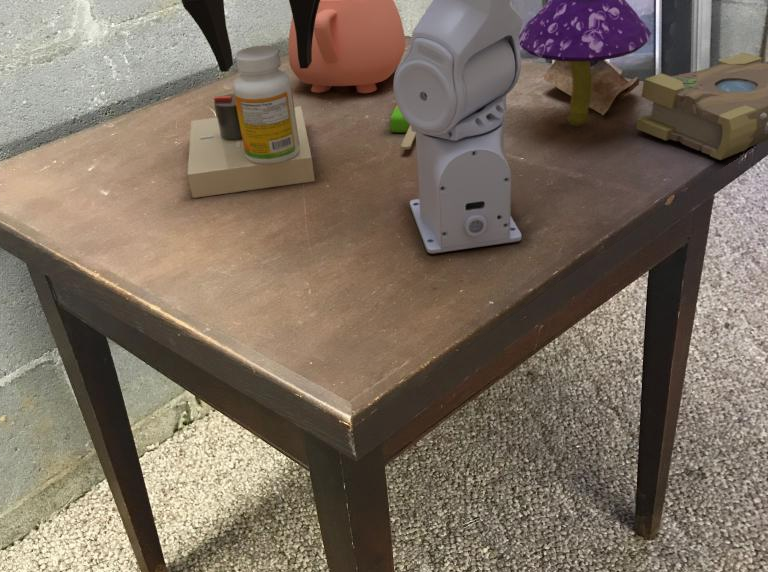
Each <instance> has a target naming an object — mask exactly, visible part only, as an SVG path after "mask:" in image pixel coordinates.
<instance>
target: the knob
mask: <svg viewBox="0 0 768 572" xmlns="http://www.w3.org/2000/svg"><path fill="white" fill-rule="evenodd" d="M213 101H214V102H213V105H214V110H215V114H216V118H217V120H218V125H219V130H220V135H221V137H222V138H224V139H227V140H239V139H242V135H241V129H240V124H239V119H238V113H237V108H236V102H235V97H234V93H229V94H225V95H215V96H214V97H213Z"/></svg>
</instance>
